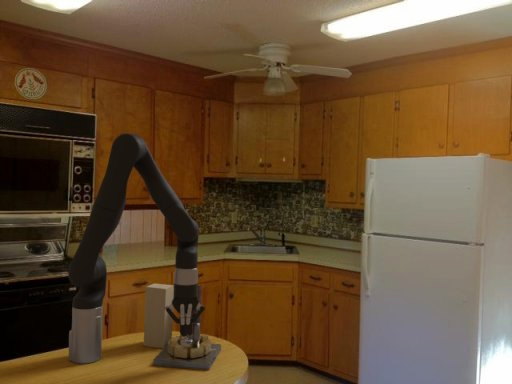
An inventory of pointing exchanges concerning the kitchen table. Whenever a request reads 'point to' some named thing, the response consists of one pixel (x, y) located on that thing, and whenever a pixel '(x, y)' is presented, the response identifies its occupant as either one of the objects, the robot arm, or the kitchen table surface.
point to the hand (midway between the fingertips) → (184, 335)
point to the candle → (199, 296)
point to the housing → (193, 363)
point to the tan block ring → (198, 348)
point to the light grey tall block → (158, 315)
